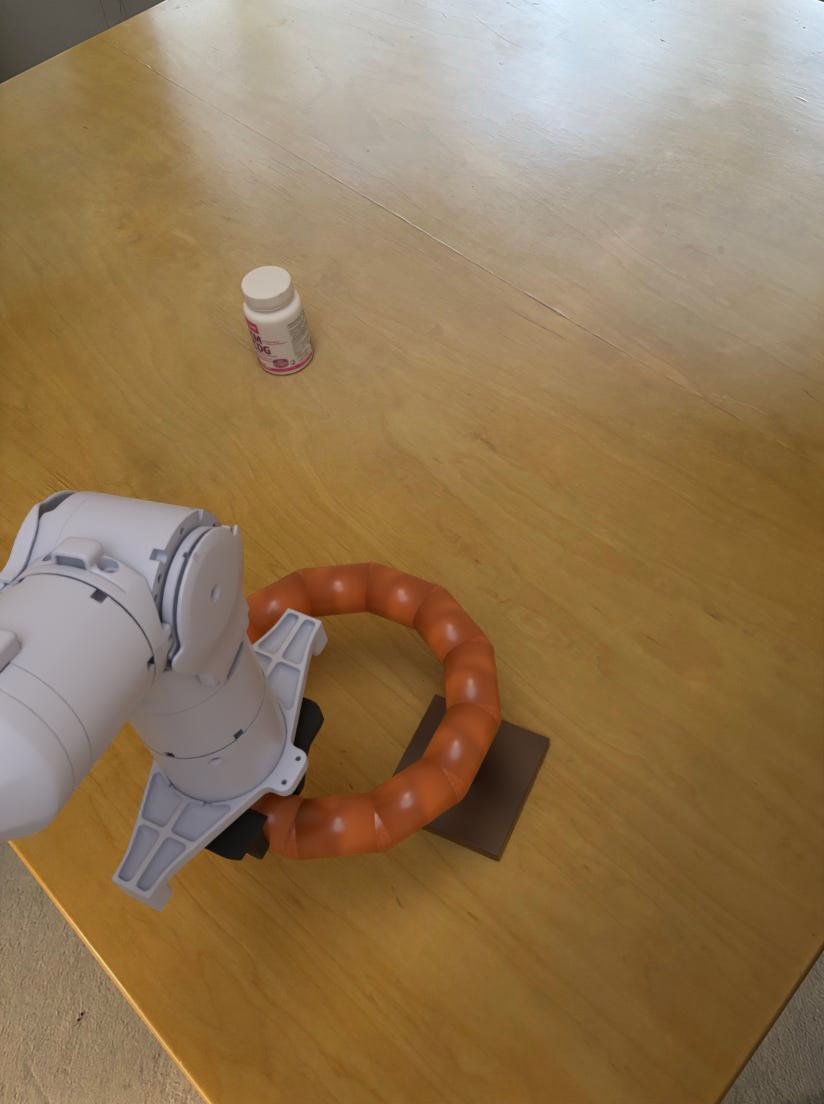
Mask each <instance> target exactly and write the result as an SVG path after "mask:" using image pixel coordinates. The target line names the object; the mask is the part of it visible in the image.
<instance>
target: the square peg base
mask: <svg viewBox="0 0 824 1104" xmlns="http://www.w3.org/2000/svg"><path fill="white" fill-rule="evenodd" d="M446 711H447V709H446V696H442V695H440V694H437V693H435V694H434V695H433V697H432V699H431V701H430V703H429V705H428V707H427V709H426V710H425V713H424V715H423V716H422V719H421V720H420V722H419V724H418V725H417V726H418V727H417V728H416V730H415V732H414V734H413V735H412V738H411V739H410V741H409V743H408V745H407V747H406V749H405V751H404V753H403V755H402V757H401V759H400V761H399V763H398V764H397V766H396V769H395V770H394V772H393V774H392V776H391V778H392V777H393V776H395V775H396V774H398V773H399V772H401V771H403V770H404V769H406V768H407V767H409V766H410V765H412V764H413V763H415V762H416V761H418V760H420V759H421V758H422V756H423V754H424V752H425V750H426V748H427V747H428V745H429V743H430V741H431V739H432V737H433V735H434V734H435V732H436V730H437V728H438V726H439V724H440V723H441V721H442V719H443V717H444V715H445V713H446ZM550 741H551V739H550V737H547V736H544V735H542V734H539V733H537V732H534V731H531V730H529V729H526V728H524V727H522V726H519V725H516V724H513V723H511V722H509V721H506V720H504V719H501V724H500V727H499V730H498V732H497V734H496V736H495V738H494V740H493V742H492V744H491V746H490V748H489V750H488V752H487V754H486V756H485V758H484V760H483V762H482V764H481V766H480V768H479V770H478V772H477V774H476V776H475V778H474V780H473V782H472V784H471V786H470V788H469V790H468V792H467V794H466V795H465V797H464V798H463V799H462V800H461V801H460V802H459V803H458V804H457V805H455V806H454V807H452V808H451V809H449V810H448V811H446V812H445V813H443V814H442V815H440V816H439V817H437V818H436V819H434V820H433V821H431V822H430V823H428V824H427V825H425V826H424V827H422V828H421V829H423V830H425V831H427V832H429V833H432V834H435V835H437V836H439V837H441V838H443V839H445V840H447V841H450V842H452V843H455V844H457V845H459V846H461V847H464V848H466V849H469V850H470V851H473V852H474V853H475V852H476V853H478V854H480V855H482V856H485V857H487V858H489V859H491V860H494V861H496V862H500V860H501V859H502V855H503V854H504V852H505V850H506V847H507V845H508V842H509V841H510V837H511V836H512V833H513V831H514V828H515V827H516V824H517V822H518V820H519V818H520V814H521V813H522V810H523V808H524V805H525V803H526V801H527V799H528V796H529V794H530V792H531V790H532V787H533V784H534V783H535V780H536V778H537V775H538V774H539V771H540V769H541V766H542V764H543V762H544V760H545V757H546V755H547V754H548V751H549V749H550V746H551V743H550Z"/></svg>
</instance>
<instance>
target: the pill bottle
mask: <svg viewBox="0 0 824 1104" xmlns="http://www.w3.org/2000/svg"><path fill="white" fill-rule="evenodd" d="M240 287H241V292H242V296H243V302H242V303H243V304H242V310H243V311H242V312H243V315H244V316H243V317H244V319H245V321H246V324H247V328H248V331H249V335H250V338H251V341H252V344H253V347H254V351H255V355H256V358H257V360H258V363H259V365H260V366H261V368H262V369H263V370H264V371H266V372H268V373H270V374H273V375H278V376H280V375H281V376H286V375H291V374H294V373H297V372H299V371H301V370H302V369H304V368H305V367H306V366H307V365H308V364H309V363H310V362H311V360H312V358H313V355H314V346H313V341H312V337H311V333H310V330H309V325H308V322H307V321H308V320H307V318H306V313H305V309H304V305H303V300H302V298H301V295H300V294H299V292H298V291H297V289H296V288H294V284H293V280H292V277H291V274H290V273H289V272H288V270H286V269H284V268H282V267H280V266H277V265H264V266H259V267H256V268H254V269H252V270H251V271H249V272H247V273H246V275H244V277H243V278H242V281H241V283H240Z"/></svg>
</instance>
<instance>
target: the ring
mask: <svg viewBox="0 0 824 1104" xmlns="http://www.w3.org/2000/svg"><path fill="white" fill-rule="evenodd" d="M245 598H246V601H247V603H248V606H249V608H250V609H249V612H248V617H249V625H248V628H247V631H246V633H247V635H248V637H249V640H250V642H251V644H252V645H253V644H254V643H255V642H257V641H258V640H259V639H260V638H262V637H263V636H264V635H265V634H266V633H267V632H268V631H269V630H271V629H272V628H273V626H274V625H275V624H276V623H277V622H278V621H279V620H280V618H281V617H282V616H283V614H284V613H285V611H286V610H287V609H288V608H290V609H292V610H295V611H298V612H300V613H303V614H305V615H308V616H310V617H313V618H318V617H329V616H341V615H352V614H362V613H370V614H372V615H375V616H378V617H380V618H383V619H385V620H388V621H391V622H393V623H396V624H399V625H401V626H404V627H406V628H409V629H412V630H414V631H415V632H416V634H418V636H419V637H420V638H421V639H422V640H423V642H424V643H425V645H426V646H427V647H428V648H429V650H430V651H431V652H432V653H433V655H434V656H435V657H436V658H437V659H438V661H439V662H440V663H441V665H442V666H443V680H444V694H445V698H446V709H447V711H446V713H445V715H444V717H443V719H442V721H441V723H440V724H439V726H438V728H437V730H436V732H435V734H434V735H433V737H432V739H431V741H430V743H429V745H428V747H427V748H426V750H425V752H424V754H423V756H422V758H421V759H420V760H418V761H416V762H415V763H413V764H412V765H410V766H409V767H407V768H406V769H404V770H403V771H401V772H399V773H398V774H396V775H395V776H393V775H392V776H393V777H392V776H391V777H390V778H388V779H387V780H385V781H384V782H382V783H381V784H379V785H378V786H376V787H375V788H373V789H371V790H370V791H369V792H368V791H367V792H358V793H349V794H338V795H328V796H318V797H307V798H305V797H303V796H302V795H297V794H295V793H292V794H290V795H288V796H280V795H278V794H275V793H273V792H269V793H266V794H264V795H263V796H262V797H261V798H259V799H258V800H257V801H256V802H255V803H254V804H253V805H252V806H250V807H249V808H251V809H253V810H255V811H257V812H260V813H262V814H264V815H266V816H268V819H267V820H266V822H265V824H264V826H263V833H264V835H265V837H266V838H267V840H268V841H269V844H270V846H269V849H268V851H271V852H273V853H275V854H278V855H279V856H281V857H284V858H286V859H287V860H292V861H306V860H307V861H308V860H317V859H319V860H320V859H328V858H338V857H348V856H349V857H350V856H356V855H357V856H359V855H368V854H378V853H383V852H386V851H387V852H388V851H389V850H391V849H393V848H395V847H396V846H398V845H399V844H401V843H402V842H403V841H405V840H406V839H408V838H409V837H411V836H412V835H414V834H415V833H417V832H418V831H420V830H421V829H422V827H424V826H425V825H427V824H428V823H430V822H431V821H433V820H434V819H436V818H437V817H439V816H440V815H442V814H443V813H445V812H446V811H448V810H449V809H451V808H452V807H454V806H455V805H457V804H458V803H459V802H460V801H461V800H462V799H463V798H464V797H465V795H466V794H467V792H468V790H469V788H470V786H471V784H472V782H473V780H474V778H475V776H476V774H477V772H478V770H479V768H480V766H481V764H482V762H483V760H484V758H485V756H486V754H487V752H488V750H489V748H490V746H491V744H492V742H493V740H494V738H495V736H496V734H497V732H498V730H499V727H500V724H501V720H502V709H501V699H500V691H499V683H498V673H497V664H496V655H495V650H494V645H493V642H491V639H490V638H489V637H488V636H487V635H486V633H484V632H483V630H482V629H481V628H480V627H479V626H478V624H477V623H476V622H475V620H474V619H472V617H471V616H470V615H469V614H468V612H467V611H466V610H465V609H464V607H463V606H462V605H461V604H460V603H459V602H458V600H457V599H456V598H455V596H453V594H452V593H451V592H450V591H449V590H448V589H447V588H445V587H444V586H442V585H440V584H437V583H434V582H432V581H429V580H426V579H423V578H421V577H418V576H416V575H412V574H411V573H408V572H405V571H402V570H399V569H397V568H395V567H394V568H393V567H391V566H387V565H385V564H382V563H380V562H372V561H371V562H360V563H359V562H358V563H349V564H348V563H347V564H338V565H337V564H336V565H326V566H315V567H313V566H312V567H304V568H299V569H297V570H294V571H293V572H291V573H289V574H287V575H284V576H283V577H282V578H279V579H278V580H276V581H274V582H272V583H270V584H269V585H267V586H264V587H263V588H260V589H259V590H257V591H255V592H253V593H252V594H250V595H248V596H245Z"/></svg>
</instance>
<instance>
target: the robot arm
mask: <svg viewBox="0 0 824 1104" xmlns="http://www.w3.org/2000/svg"><path fill="white" fill-rule="evenodd" d="M244 556H245V555H244V542H243V536H242V532H241V529H240V526H239V524H235V525H234V526H233V528H232V527H231V525H226V524H221V522H220V521H219V519H218V517H217V515H215V514H214V513H213V512H212V511H209V510H207V509H203V508H196V507H190V506H185V505H178V504H171V503H165V502H160V501H153V500H148V499H143V498H137V497H134V498H133V497H129V496H124V495H123V496H122V495H117V494H110V493H104V492H100V491H99V492H98V491H93V490H82V491H77V490H74V489H73V490H72V489H65V490H64V489H63V490H60V491H57V492H55V493H52V494H51V495H49V496H48V497H46V498H45V499H44V500H43V501H40V502H37V503H35V504H34V505H33V506H32V508H30V510H29V511H28V513H27V515H26V516H25V518H24V520H23V521H22V523H21V525H20V528H19V529H18V532H17V534H16V536H15V539H14V542H13V544H12V548H11V552H10V555H9V558H8V560H7V562H6V564H5V565H4V568H3V569H2V570H1V571H0V844H1V843H5V842H10V841H17V840H22V839H26V838H29V837H32V836H35V835H37V834H39V833H41V832H43V831H44V830H46V829H47V828H48V827H49V826H51V824H52V823H53V822H54V821H55V820H56V819H57V818H58V816H59V814H60V813H61V812H62V810H63V809H64V807H65V806H66V804H67V803H68V802H69V801H70V799H71V798H72V797H73V796H74V794H75V793H76V792H77V790H78V789H79V787H80V786H81V784H82V783H83V781H84V780H85V779H86V778H87V776H88V775H89V774H90V773H91V772H92V770H93V768H94V767H95V765H96V764H97V763H98V761H99V760H100V758H101V757H102V756H103V754H104V753H105V752H106V750H107V749H108V748H109V746H110V745H111V743H112V742H113V741H114V739H115V738H116V737H117V735H118V734H119V733H120V731H121V730H122V728H123V727H124V726H125V724H126V723H127V722H128V723H129V724H130V726H131V727H132V729H133V730H134V731H135V733H136V735H138V737H139V739H140V740H141V742H142V743H143V745H144V746H145V747H146V749H147V750H148V751H149V753H150V754H151V756H152V758H153V760H152V764H151V767H150V771H149V773H148V777H147V781H146V783H145V784H146V785H145V787H144V791H143V794H142V798H141V801H140V805H139V809H138V812H137V816H136V819H135V823H134V826H133V829H132V833H131V837H130V839H129V842H128V845H127V847H126V850H125V852H124V854H123V857H122V859H121V861H120V863H119V864H118V866H117V868H116V869H115V871H114V872H113V875H112V877H111V878H110V881H111V882H112V883H113V884H114V885H115V886H116V887H117V888H118V889H119V890H120V891H121V892H122V893H123V894H124V895H126V896H128V897H130V898H131V899H133V900H135V901H137V902H138V903H140V904H143V905H145V906H146V907H149V908H151V909H153V910H154V911H157V912H159V913H161V912H163V911H164V909H165V907H166V905H167V904H168V902H169V900H170V899H171V897H172V896H173V894H174V889H173V887H172V886H171V884H170V883H169V882H170V881H171V880H172V879H173V878H174V877H175V876H176V874H178V872H180V871H181V869H183V868H184V867H185V866H186V865H187V864H188V863H189V862H190V861H191V860H192V859H193V858H195V857H196V856H197V855H198V854H199V853H200V852H201V851H203V850H204V849H205V850H207V851H209V852H211V853H213V854H215V855H217V856H220V857H222V858H223V859H226V860H231V861H237V862H241V861H242V860H243V859H244V858H245V857H246V855H249V856H251V857H254V858H255V859H257V860H263V859H264V858H265V856H266V855H267V853H268V851H269V846H270V844H269V841H268V840H267V838H266V837H265V835H264V833H263V826H264V824H265V822H266V820H267V819H268V816H266V815H264V814H262V813H260V812H257V811H255V810H253V809H251V808H249V807H250V806H252V805H253V804H254V803H255V802H256V801H257V800H258V799H259V798H261V797H262V796H263V795H264V794H266V793H269V792H273V793H275V794H278V795H280V796H288V795H290V794H292V793H295V794H297V795H299V796H301V794H302V792H303V790H304V788H305V784H306V775H307V774H306V773H307V770H308V768H309V764H310V761H309V753H310V750H311V746H312V743H313V742H314V740H315V739H316V737H317V735H318V733H319V732H320V730H321V728H322V726H323V725H324V723H325V716H324V713H323V711H322V709H321V707H320V705H318V703H317V702H316V701H314V700H312V699H310V698H308V697H305V696H304V694H305V690H306V689H305V688H306V685H307V679H308V675H309V669H310V665H311V660H312V657H313V656H314V657H317V656H319V655H320V654H321V653H322V652H323V650H324V649H325V647H326V645H327V643H328V642H329V639H328V636H327V633H326V631H325V627H324V625H323V621H322V620H321V619H319V618H316V617H310V616H308V615H305V614H303V613H300V612H298V611H295V610H292V609H290V608H288V609H287V610H286V611H285V613H284V614H283V616H282V617H281V618H280V620H279V621H278V622H277V623H276V624H275V625H274V626H273V628H272V629H271V630H269V631H268V632H267V633H266V634H265V635H264V636H263V637H262V638H260V639H259V640H258V641H257V642H255V643H254V644H253V645H252V644H251V642H250V640H249V637H248V635H247V633H246V631H247V628H248V625H249V617H248V612H249V609H250V608H249V606H248V603H247V601H246V596H245V592H244V567H245V566H244V565H245V557H244Z"/></svg>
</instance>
